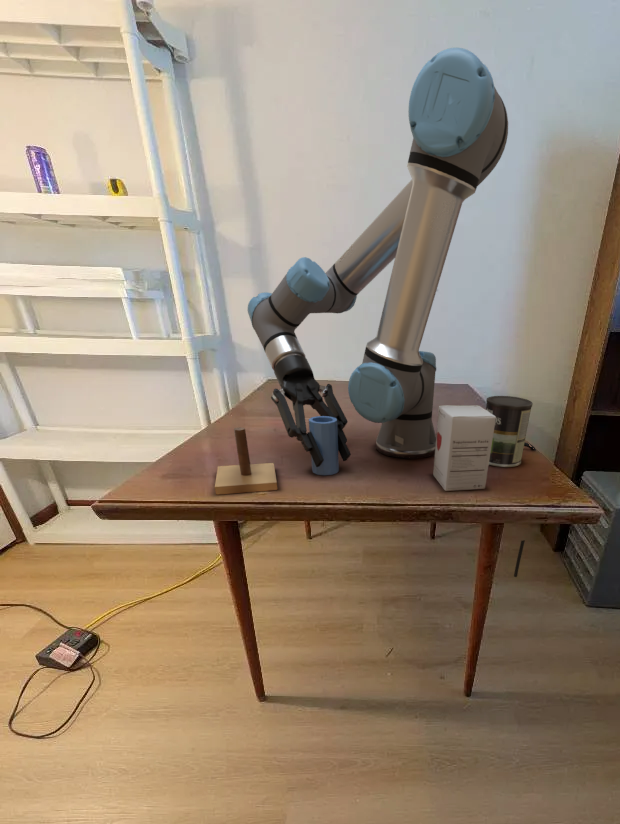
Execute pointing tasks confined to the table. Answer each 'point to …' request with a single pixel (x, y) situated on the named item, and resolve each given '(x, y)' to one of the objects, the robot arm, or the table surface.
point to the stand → (244, 472)
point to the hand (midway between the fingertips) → (333, 460)
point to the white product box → (463, 447)
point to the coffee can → (508, 429)
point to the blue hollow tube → (325, 444)
